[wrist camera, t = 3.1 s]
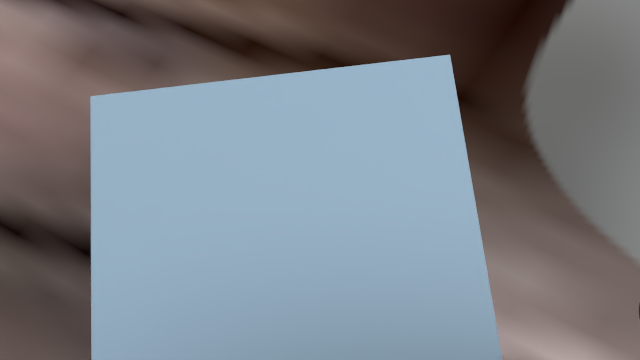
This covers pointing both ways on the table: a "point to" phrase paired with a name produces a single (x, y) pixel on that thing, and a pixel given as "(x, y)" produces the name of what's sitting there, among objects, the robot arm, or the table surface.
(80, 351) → the table surface
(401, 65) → the dusty blue block
